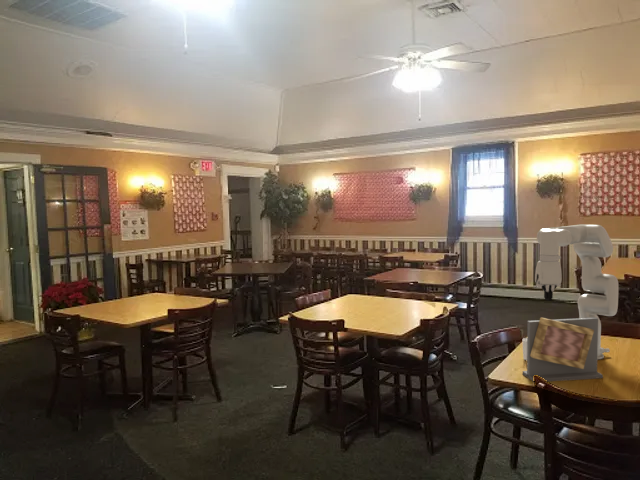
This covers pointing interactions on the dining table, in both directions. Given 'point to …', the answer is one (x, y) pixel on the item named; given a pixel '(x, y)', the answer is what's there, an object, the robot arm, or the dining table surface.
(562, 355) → the picture frame
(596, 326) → the board
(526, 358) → the white cup
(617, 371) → the dining table surface
